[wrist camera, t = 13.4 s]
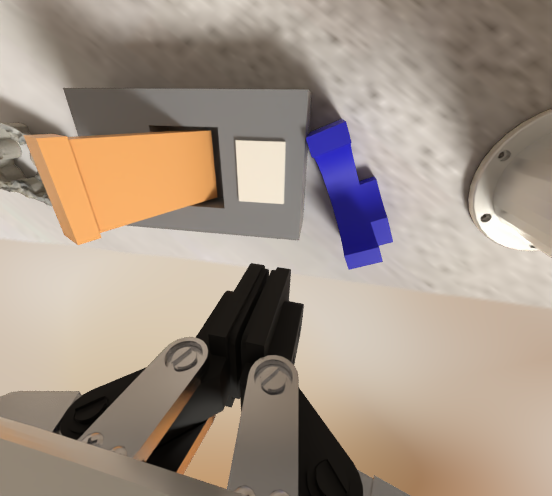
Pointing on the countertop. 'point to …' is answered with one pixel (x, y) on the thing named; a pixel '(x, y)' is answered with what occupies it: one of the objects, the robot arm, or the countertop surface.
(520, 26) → the countertop surface
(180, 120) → the breaker box
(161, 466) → the robot arm
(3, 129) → the egg carton
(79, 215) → the breaker lever
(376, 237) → the cable clip
